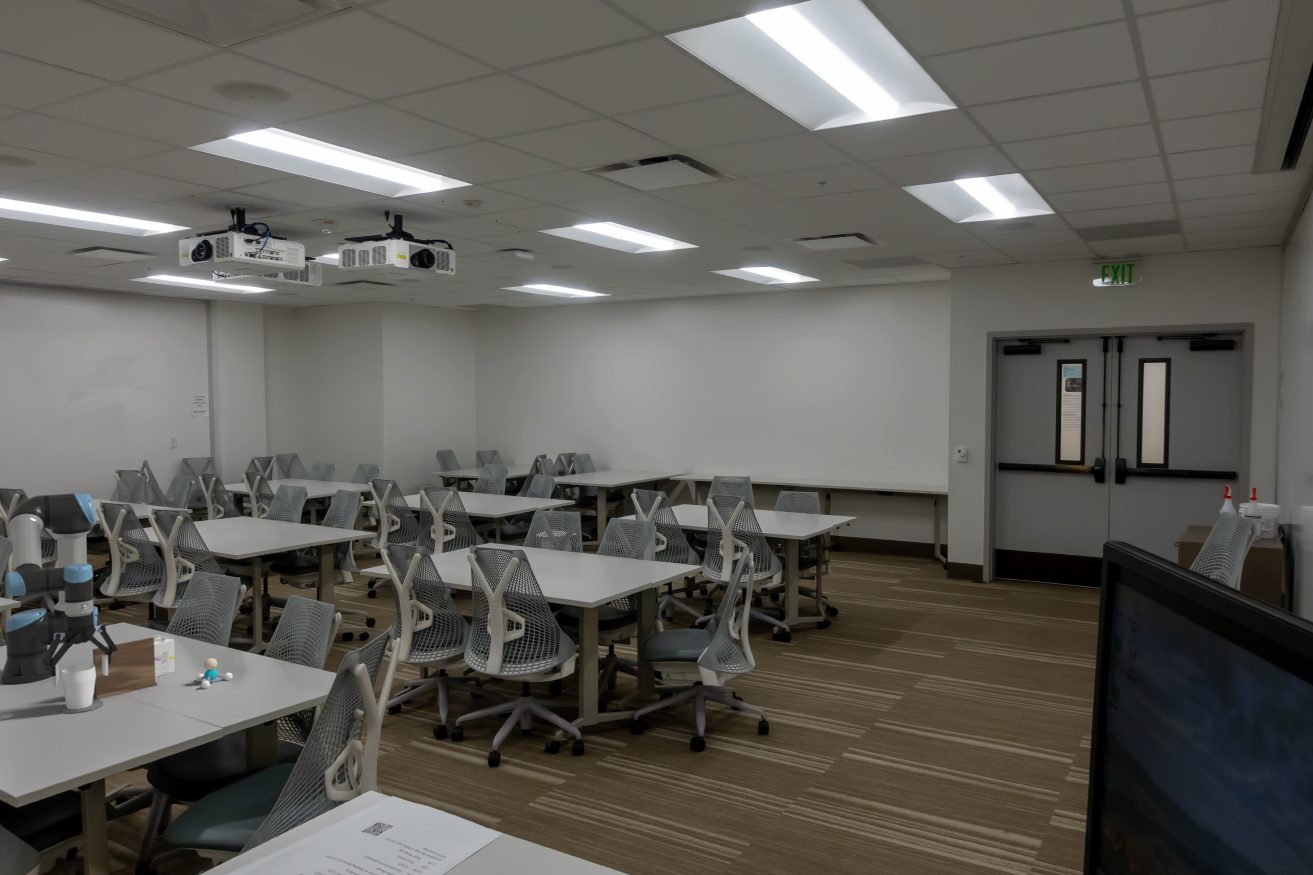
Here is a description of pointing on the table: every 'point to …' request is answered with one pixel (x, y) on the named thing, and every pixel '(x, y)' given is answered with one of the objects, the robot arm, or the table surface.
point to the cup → (78, 685)
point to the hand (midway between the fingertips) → (81, 680)
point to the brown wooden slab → (125, 668)
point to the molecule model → (211, 673)
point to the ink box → (163, 655)
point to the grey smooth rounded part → (94, 705)
